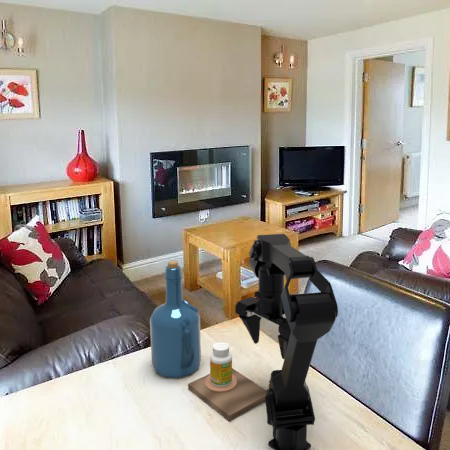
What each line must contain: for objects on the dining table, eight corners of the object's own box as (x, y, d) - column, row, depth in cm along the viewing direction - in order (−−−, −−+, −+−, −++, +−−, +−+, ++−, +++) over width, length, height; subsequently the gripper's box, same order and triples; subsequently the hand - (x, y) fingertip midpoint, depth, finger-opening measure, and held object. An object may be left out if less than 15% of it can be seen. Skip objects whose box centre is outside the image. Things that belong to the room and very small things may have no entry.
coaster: (243, 383, 115) (243, 382, 115) (218, 396, 110) (218, 394, 110) (223, 370, 121) (223, 368, 120) (198, 381, 116) (198, 380, 116)
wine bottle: (169, 386, 116) (164, 274, 109) (143, 364, 126) (137, 260, 119) (212, 367, 125) (210, 262, 117) (184, 348, 135) (181, 250, 127)
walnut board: (270, 398, 111) (270, 392, 111) (229, 421, 103) (229, 415, 103) (228, 370, 123) (228, 365, 123) (188, 389, 115) (188, 383, 115)
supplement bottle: (222, 390, 111) (221, 354, 109) (205, 382, 115) (205, 346, 112) (236, 380, 115) (236, 345, 113) (220, 372, 119) (220, 338, 116)
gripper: (327, 291, 102) (323, 354, 106) (267, 269, 116) (266, 326, 120) (292, 305, 95) (290, 372, 99) (233, 280, 109) (233, 339, 113)
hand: (269, 350), depth 108 cm, fingers open, 9 cm apart
